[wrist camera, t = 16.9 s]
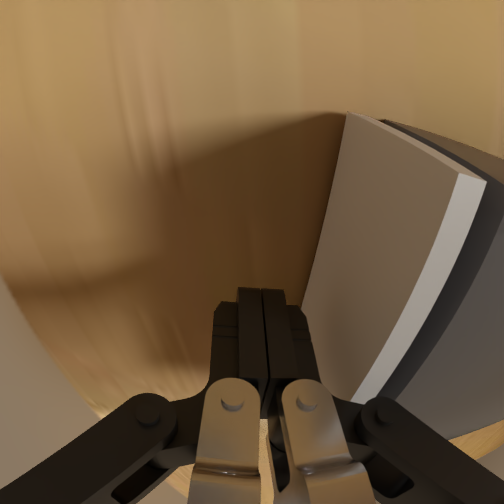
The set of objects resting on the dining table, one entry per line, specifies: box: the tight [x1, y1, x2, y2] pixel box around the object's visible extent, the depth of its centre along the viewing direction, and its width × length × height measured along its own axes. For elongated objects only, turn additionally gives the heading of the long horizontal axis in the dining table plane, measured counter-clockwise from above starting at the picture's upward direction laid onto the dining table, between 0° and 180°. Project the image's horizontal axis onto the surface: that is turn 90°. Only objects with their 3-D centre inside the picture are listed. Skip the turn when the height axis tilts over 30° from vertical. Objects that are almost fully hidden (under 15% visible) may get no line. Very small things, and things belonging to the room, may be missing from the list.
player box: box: [376, 120, 504, 440], centre depth 12 cm, size 14×13×7 cm
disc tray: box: [301, 111, 487, 404], centre depth 11 cm, size 14×13×7 cm
